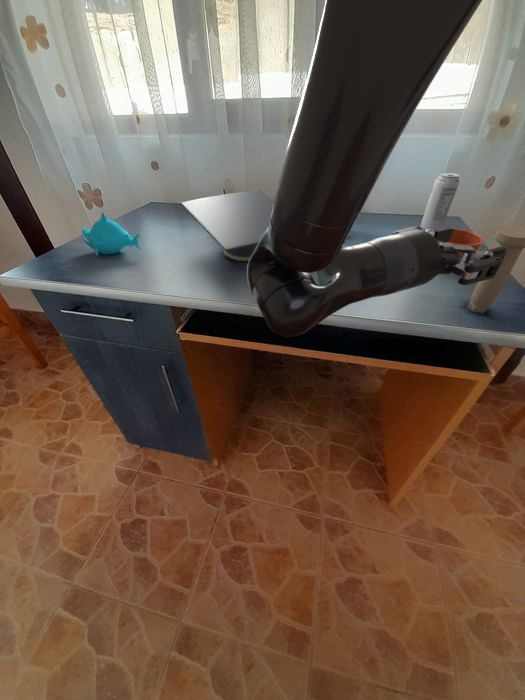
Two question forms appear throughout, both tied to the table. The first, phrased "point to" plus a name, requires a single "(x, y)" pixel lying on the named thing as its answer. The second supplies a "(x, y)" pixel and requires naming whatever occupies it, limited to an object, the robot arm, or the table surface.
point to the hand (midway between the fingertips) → (473, 243)
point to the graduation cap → (234, 220)
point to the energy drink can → (440, 201)
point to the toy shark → (107, 237)
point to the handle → (491, 288)
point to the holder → (465, 240)
